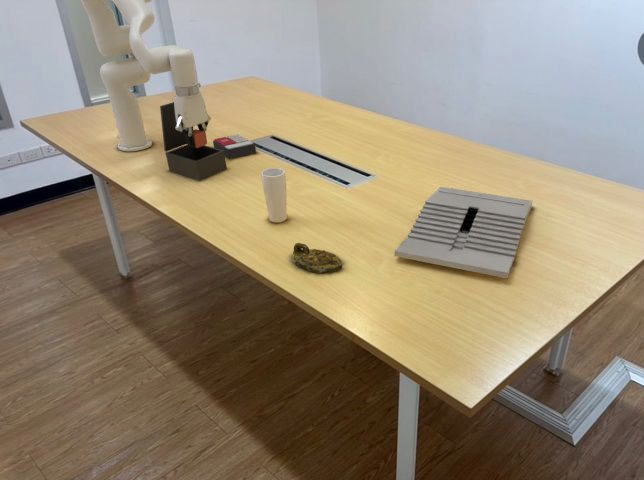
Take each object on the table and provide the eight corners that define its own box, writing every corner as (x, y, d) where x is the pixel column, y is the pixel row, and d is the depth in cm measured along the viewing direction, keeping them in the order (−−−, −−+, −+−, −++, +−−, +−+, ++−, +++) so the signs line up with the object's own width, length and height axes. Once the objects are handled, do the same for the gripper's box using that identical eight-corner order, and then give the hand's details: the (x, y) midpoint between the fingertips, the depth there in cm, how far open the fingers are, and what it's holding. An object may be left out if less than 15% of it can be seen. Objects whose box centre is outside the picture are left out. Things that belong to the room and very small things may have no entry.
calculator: (238, 133, 218) (254, 141, 208) (240, 143, 220) (256, 153, 210) (212, 138, 213) (227, 147, 202) (214, 149, 215) (229, 159, 205)
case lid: (191, 97, 190) (189, 97, 190) (161, 106, 181) (159, 106, 182) (194, 141, 200) (192, 140, 201) (165, 151, 191) (164, 150, 192)
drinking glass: (267, 214, 168) (262, 167, 159) (290, 213, 168) (285, 167, 160) (265, 225, 162) (260, 177, 154) (289, 224, 163) (284, 176, 154)
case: (227, 168, 197) (224, 150, 194) (199, 180, 189) (196, 161, 185) (196, 159, 204) (193, 142, 201) (169, 171, 196) (165, 152, 192)
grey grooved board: (437, 193, 180) (438, 181, 178) (528, 206, 172) (530, 193, 170) (398, 262, 145) (399, 248, 142) (511, 281, 137) (513, 267, 135)
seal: (350, 264, 146) (301, 251, 151) (351, 248, 144) (301, 235, 149) (333, 278, 138) (282, 264, 144) (334, 261, 136) (282, 247, 141)
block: (188, 145, 190) (185, 132, 187) (198, 141, 193) (195, 129, 190) (197, 148, 188) (194, 135, 185) (207, 144, 191) (205, 131, 188)
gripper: (199, 83, 188) (208, 135, 198) (158, 94, 176) (170, 149, 186) (215, 86, 184) (223, 139, 194) (174, 98, 172) (185, 154, 183)
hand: (197, 143), depth 190 cm, fingers closed on block, 4 cm apart
